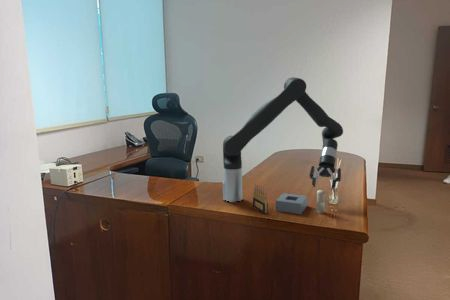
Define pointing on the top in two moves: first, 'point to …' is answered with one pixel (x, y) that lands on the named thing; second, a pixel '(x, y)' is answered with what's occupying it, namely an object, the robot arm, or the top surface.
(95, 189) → the top surface
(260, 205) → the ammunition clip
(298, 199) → the socket block
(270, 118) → the robot arm
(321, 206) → the peg
